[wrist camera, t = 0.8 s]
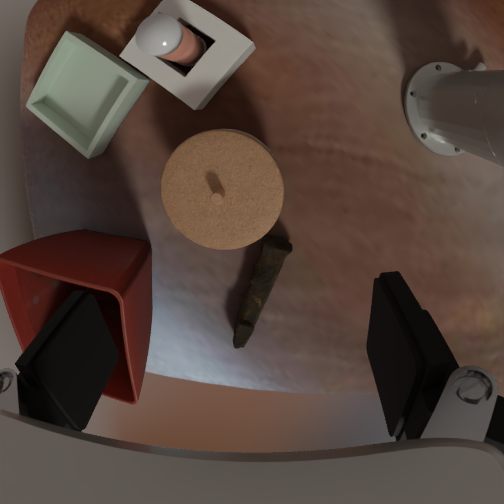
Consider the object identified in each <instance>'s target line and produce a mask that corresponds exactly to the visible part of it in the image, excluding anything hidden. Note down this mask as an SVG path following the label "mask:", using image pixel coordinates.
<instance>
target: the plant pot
mask: <svg viewBox="0 0 504 504" xmlns="http://www.w3.org/2000/svg"><path fill="white" fill-rule="evenodd" d="M0 289H1V292H2V295H3V299H4V302H5V305H6V308H7V311H8V314H9V317H10V319H11V323H12V325H13V328H14V331H15V333H16V336H17V338H18V341H19V344H20V346H21V349H22V351H23V352H24V351H25V349H26V348H27V347H28V346H29V344H30V343H31V342H32V340H33V339H34V338H35V337H36V335H37V334H38V333H39V332H40V330H41V329H42V328H43V327H44V325H45V324H46V323H47V322H48V321H49V319H50V318H51V317H52V316H53V315H54V313H55V312H56V311H57V310H58V309H59V307H60V306H61V305H62V304H63V303H64V302H65V300H66V299H67V298H68V297H69V296H70V295H71V293H72V292H74V291H89V292H90V293H91V294H92V295H94V296H95V298H96V300H97V303H98V305H99V308H100V310H101V313H102V315H103V318H104V320H105V322H106V325H107V327H108V329H109V331H110V334H111V336H112V338H113V340H114V343H115V345H116V347H117V349H118V352H119V360H118V362H117V364H116V366H115V368H114V370H113V372H112V374H111V376H110V378H109V380H108V382H107V384H106V386H105V388H104V390H103V392H102V395H104V396H107V397H110V398H113V399H116V400H119V401H122V402H126V403H129V404H137V402H138V399H139V395H140V391H141V387H142V382H143V377H144V373H145V368H146V362H147V356H148V350H149V343H150V334H151V324H152V249H151V246H150V244H149V243H147V242H146V241H141V240H135V239H131V238H125V237H120V236H115V235H109V234H104V233H98V232H94V231H88V230H75V231H69V232H63V233H59V234H54V235H50V236H47V237H43V238H40V239H36V240H33V241H30V242H28V243H25V244H22V245H20V246H17V247H15V248H12V249H10V250H8V251H6V252H4V253H2V254H0Z"/></svg>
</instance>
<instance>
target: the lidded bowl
mask: <svg viewBox="0 0 504 504" xmlns="http://www.w3.org/2000/svg"><path fill="white" fill-rule="evenodd" d="M160 188H161V198H162V202H163V206H164V209H165V211H166V213H167V215H168V217H169V219H170V220H171V222H172V223H173V225H174V226H175V227H176V228H177V229H178V230H179V231H180V232H181V233H182V234H183V235H184V236H186V237H187V238H188V239H190V240H191V241H193V242H195V243H197V244H199V245H202V246H205V247H208V248H213V249H221V250H229V249H237V248H241V247H245V246H247V245H249V244H252V243H254V242H255V241H257V240H259V239H260V238H262V237H263V236H264V235H265V234H266V233H267V232H268V231H269V230H270V229H271V228H272V227H273V225H274V224H275V222H276V220H277V219H278V217H279V215H280V212H281V209H282V205H283V201H284V183H283V177H282V174H281V170H280V168H279V165H278V163H277V161H276V159H275V157H274V155H273V154H272V152H271V151H270V150H269V148H268V147H267V146H266V145H265V144H264V143H262V142H261V141H260V140H258V139H257V138H256V137H254V136H252V135H250V134H248V133H245V132H242V131H239V130H233V129H215V130H209V131H204V132H202V133H199V134H196V135H194V136H192V137H190V138H188V139H187V140H185V141H184V142H183V143H181V144H180V145H179V146H178V147H177V148H176V149H175V150H174V151H173V152H172V154H171V155H170V157H169V159H168V160H167V162H166V164H165V167H164V169H163V173H162V177H161V187H160Z"/></svg>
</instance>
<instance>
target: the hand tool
mask: <svg viewBox="0 0 504 504" xmlns="http://www.w3.org/2000/svg"><path fill="white" fill-rule="evenodd" d="M262 245H263V247H262V248H261V251H262V252H261V255H260V257H259V259H258V261H257V263H256V266H255V268H254V270H253V271H254V273H253V275H252V276H251V278H250V281H251V282H250V284H249V287H248V290H247V293H246V296H245V298H244V301H243V303H242V306H241V309H240V311H239V314H238V316H237V321H236V324H235V329H234V337H233V344H234V348H240V347H243V348H244V346H245V344H246V343H247V341H248V340H249V338H250V336H251V335H252V333H253V331H254V327H255V324H256V322H257V320H258V317H259V315H260V313H261V311H262V309H263V307H264V304H265V303H266V301H267V299H268V296H269V294H270V292H271V290H272V288H273V285H274V283H275V281H276V279H277V277H278V274H279V272H280V270H281V267H282V265H283V262H284V260H285V258H286V256H287V255H288V254H290V253H291V252H292V244H291V243H289V242H288V241H287V240H284V239H282V238H280V237H277V236H272V235H266V236H265V238H264V239H263V240H262Z"/></svg>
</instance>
